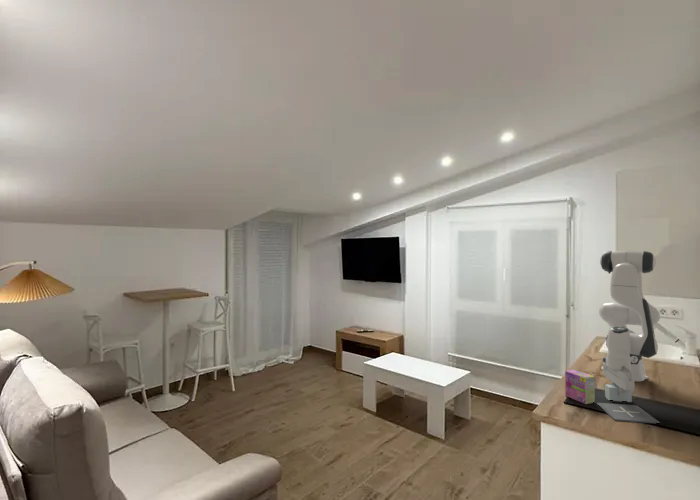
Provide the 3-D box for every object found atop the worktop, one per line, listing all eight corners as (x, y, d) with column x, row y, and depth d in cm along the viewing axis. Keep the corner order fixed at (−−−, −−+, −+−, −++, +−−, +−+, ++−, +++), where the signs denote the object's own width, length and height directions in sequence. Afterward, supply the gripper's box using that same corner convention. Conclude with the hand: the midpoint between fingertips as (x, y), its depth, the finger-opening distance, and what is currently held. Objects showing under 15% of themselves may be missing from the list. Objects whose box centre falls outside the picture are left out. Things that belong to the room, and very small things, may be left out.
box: (564, 395, 178) (565, 370, 178) (573, 394, 180) (574, 369, 180) (585, 404, 168) (585, 377, 168) (594, 402, 170) (595, 376, 170)
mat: (596, 404, 169) (596, 402, 169) (636, 406, 166) (636, 405, 166) (614, 420, 153) (614, 418, 153) (659, 423, 150) (659, 422, 150)
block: (605, 397, 176) (605, 383, 176) (626, 398, 175) (626, 385, 175) (609, 400, 172) (609, 387, 172) (631, 402, 171) (631, 388, 171)
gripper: (639, 371, 163) (639, 403, 163) (614, 357, 183) (614, 386, 183) (623, 370, 164) (622, 402, 164) (600, 356, 184) (600, 385, 184)
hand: (618, 393), depth 174 cm, fingers closed on block, 4 cm apart
